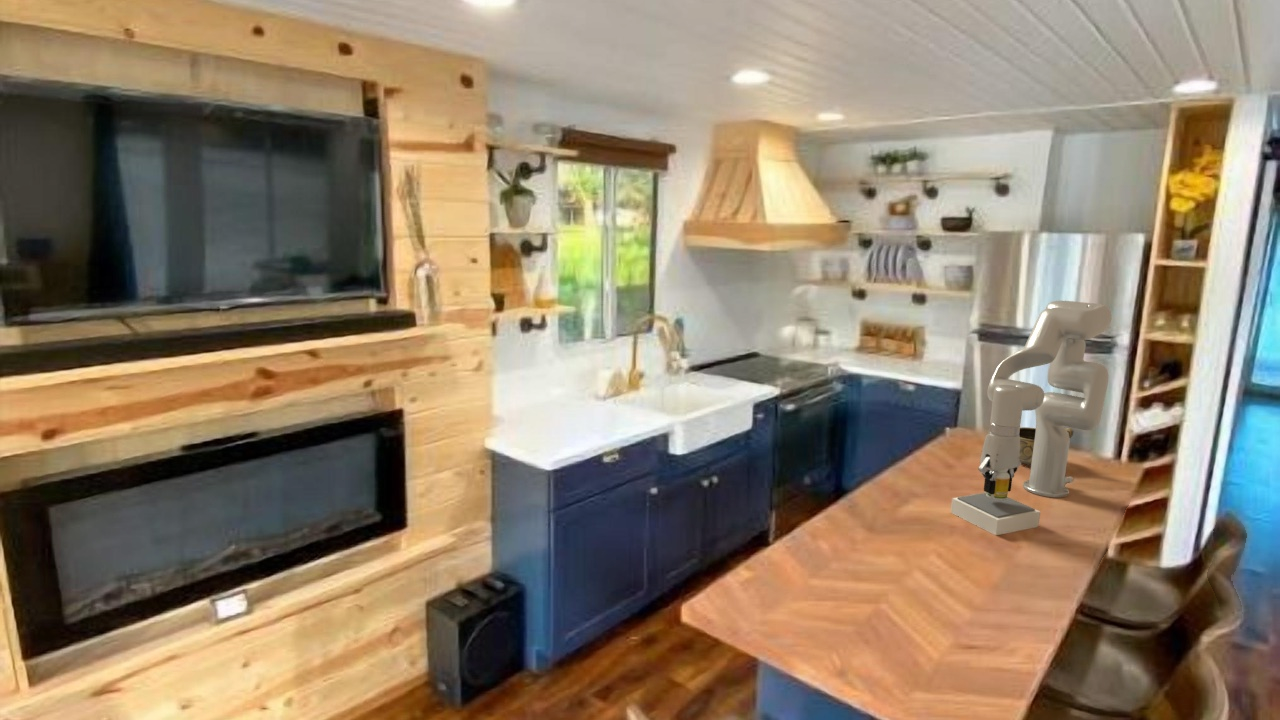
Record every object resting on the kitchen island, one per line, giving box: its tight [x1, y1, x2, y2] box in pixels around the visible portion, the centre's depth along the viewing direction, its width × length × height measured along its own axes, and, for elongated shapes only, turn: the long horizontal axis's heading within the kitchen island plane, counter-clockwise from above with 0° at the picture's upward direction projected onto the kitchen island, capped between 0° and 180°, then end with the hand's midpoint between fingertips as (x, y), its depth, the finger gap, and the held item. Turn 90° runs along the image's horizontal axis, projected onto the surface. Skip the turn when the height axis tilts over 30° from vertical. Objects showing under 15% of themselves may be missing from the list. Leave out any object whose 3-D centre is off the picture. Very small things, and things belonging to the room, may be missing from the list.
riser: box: [950, 491, 1041, 536], centre depth 203 cm, size 16×16×5 cm
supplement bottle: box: [986, 468, 1010, 500], centre depth 201 cm, size 5×5×10 cm
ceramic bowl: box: [1019, 426, 1074, 467], centre depth 249 cm, size 22×17×15 cm
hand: (997, 490), depth 202 cm, fingers closed on supplement bottle, 5 cm apart
